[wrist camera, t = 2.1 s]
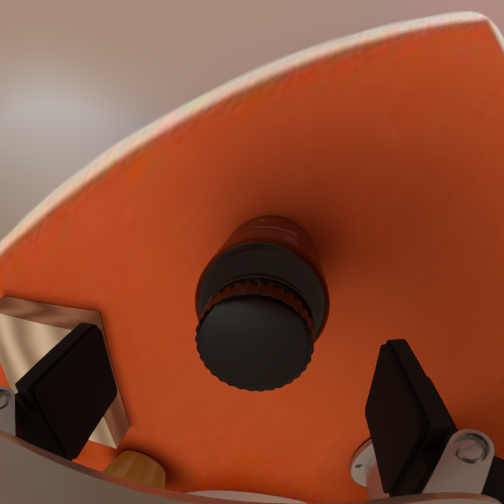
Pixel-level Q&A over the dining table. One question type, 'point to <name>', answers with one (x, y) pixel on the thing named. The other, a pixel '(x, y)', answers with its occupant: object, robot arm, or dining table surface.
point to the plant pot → (137, 469)
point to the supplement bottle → (261, 305)
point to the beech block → (41, 342)
